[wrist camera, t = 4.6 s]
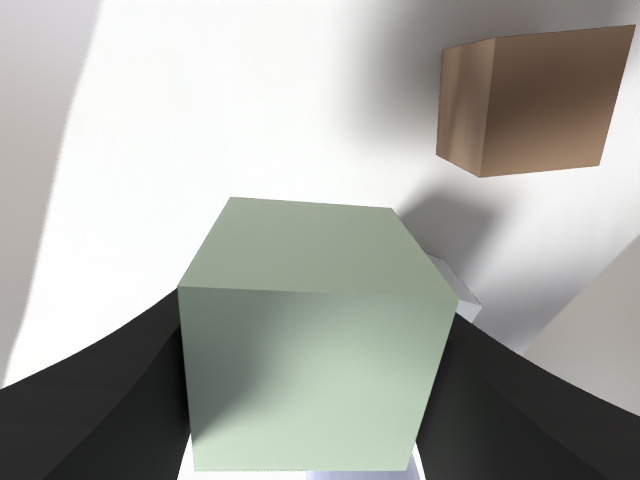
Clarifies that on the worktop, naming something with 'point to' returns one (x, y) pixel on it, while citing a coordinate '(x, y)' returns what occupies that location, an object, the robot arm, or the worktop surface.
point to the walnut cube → (530, 100)
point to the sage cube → (310, 338)
